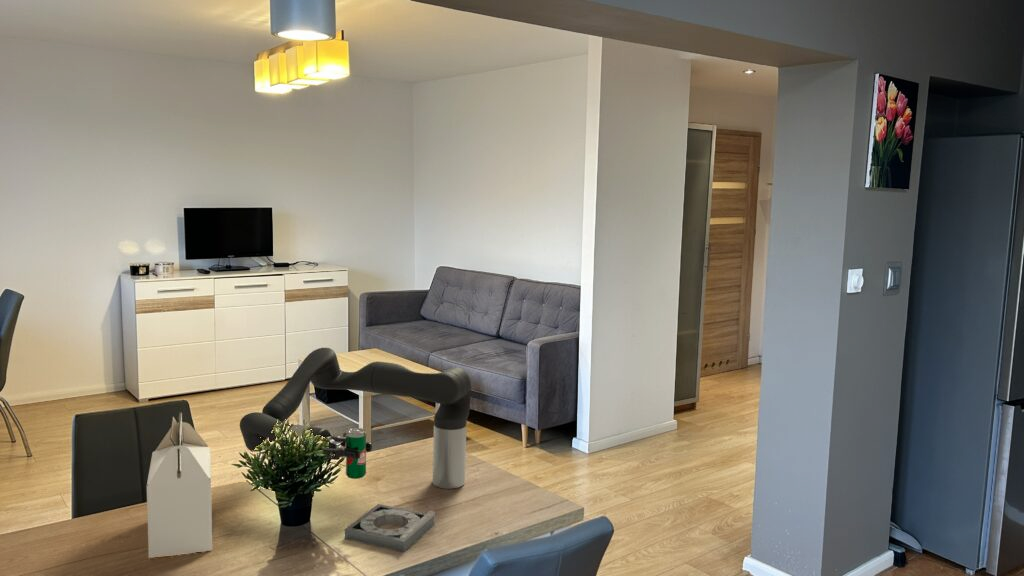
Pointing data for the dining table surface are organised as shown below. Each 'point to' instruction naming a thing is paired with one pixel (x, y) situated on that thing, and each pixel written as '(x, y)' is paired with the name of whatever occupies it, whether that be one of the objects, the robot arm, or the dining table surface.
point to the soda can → (358, 441)
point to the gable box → (179, 493)
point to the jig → (390, 539)
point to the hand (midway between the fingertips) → (365, 450)
